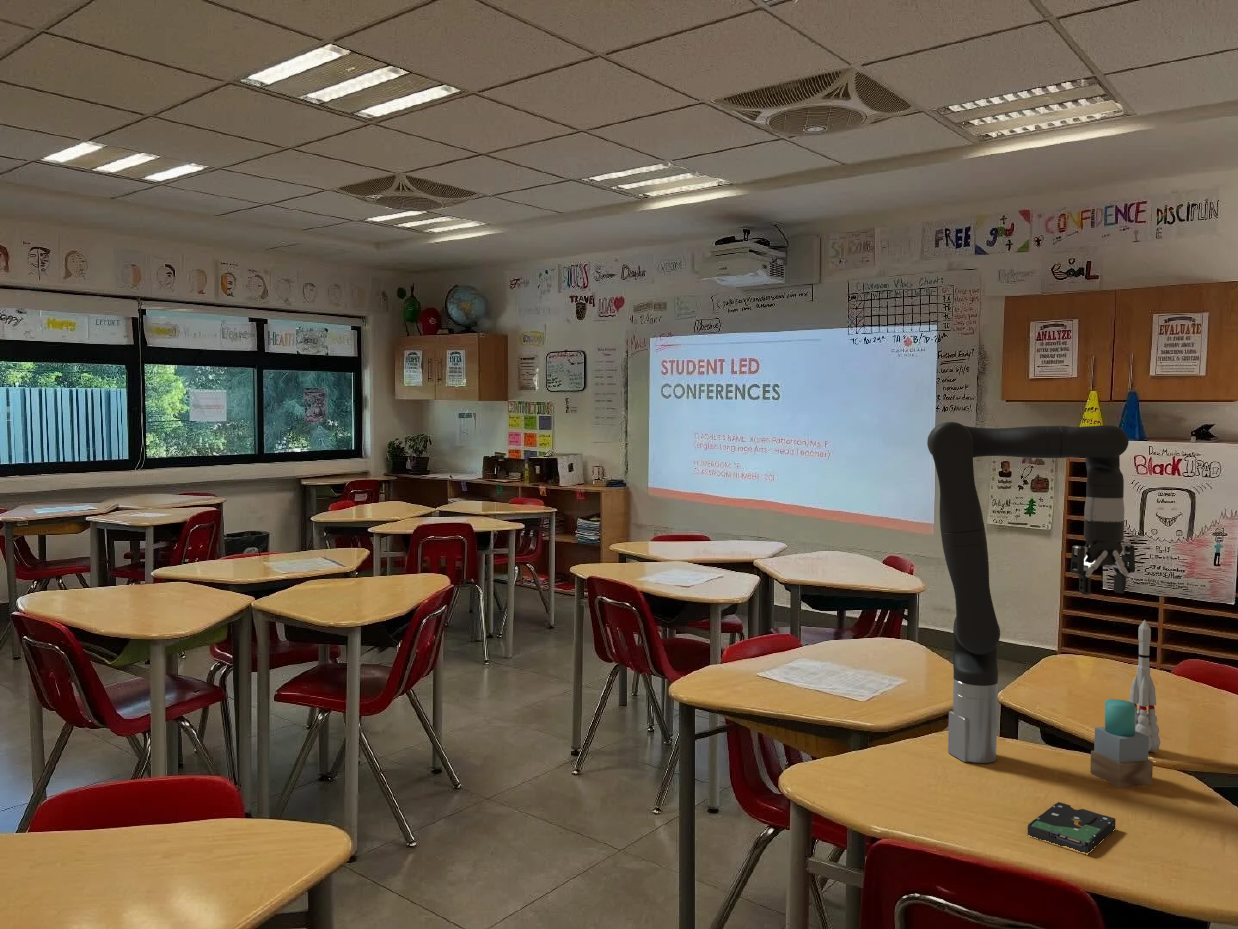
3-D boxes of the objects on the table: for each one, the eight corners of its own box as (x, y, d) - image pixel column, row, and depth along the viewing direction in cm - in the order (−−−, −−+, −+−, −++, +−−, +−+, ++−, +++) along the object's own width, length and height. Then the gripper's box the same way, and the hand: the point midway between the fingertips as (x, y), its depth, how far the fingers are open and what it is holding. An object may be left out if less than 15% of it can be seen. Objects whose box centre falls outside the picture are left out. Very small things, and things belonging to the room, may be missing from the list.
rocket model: (1157, 747, 205) (1161, 618, 204) (1162, 758, 199) (1166, 625, 197) (1121, 743, 208) (1124, 616, 207) (1124, 753, 202) (1128, 622, 200)
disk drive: (1056, 815, 170) (1026, 839, 160) (1056, 801, 170) (1026, 823, 160) (1116, 833, 163) (1088, 859, 152) (1116, 818, 163) (1089, 842, 152)
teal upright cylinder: (1118, 737, 183) (1118, 709, 183) (1098, 728, 189) (1098, 700, 188) (1141, 734, 184) (1141, 706, 184) (1121, 725, 190) (1121, 698, 189)
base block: (1119, 788, 182) (1120, 764, 182) (1090, 774, 190) (1090, 751, 189) (1152, 785, 184) (1152, 761, 183) (1121, 771, 191) (1122, 748, 191)
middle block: (1118, 763, 183) (1119, 739, 182) (1094, 751, 189) (1094, 727, 189) (1148, 760, 184) (1148, 736, 184) (1122, 748, 191) (1123, 725, 191)
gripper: (1118, 516, 196) (1116, 589, 196) (1063, 517, 192) (1061, 591, 193) (1146, 519, 188) (1143, 595, 189) (1088, 520, 185) (1086, 598, 186)
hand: (1102, 593), depth 191 cm, fingers open, 8 cm apart
